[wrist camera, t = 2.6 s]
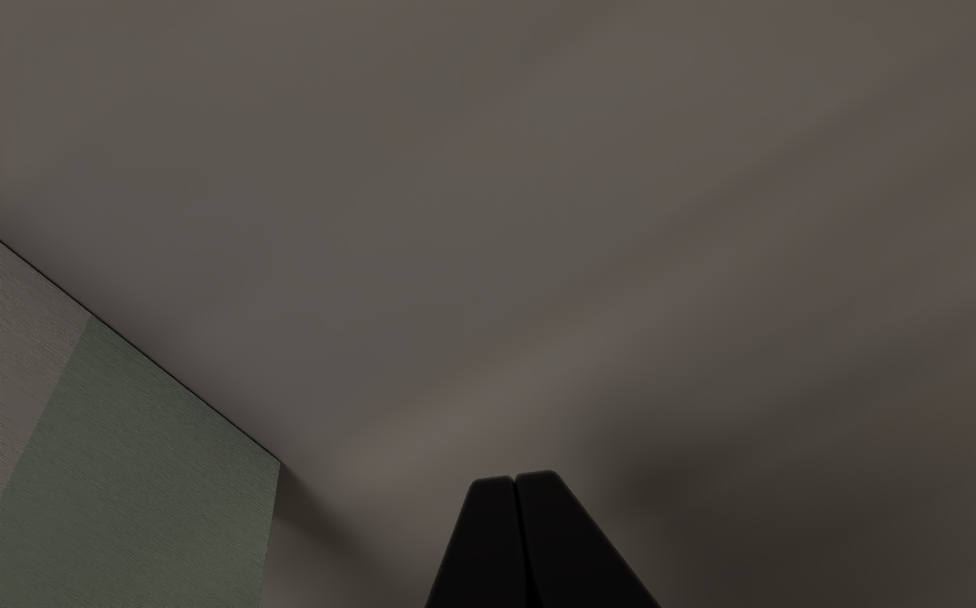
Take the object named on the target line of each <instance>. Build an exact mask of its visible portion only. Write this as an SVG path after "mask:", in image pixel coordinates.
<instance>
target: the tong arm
mask: <svg viewBox="0 0 976 608" xmlns="http://www.w3.org/2000/svg"><path fill="white" fill-rule="evenodd" d="M279 468H280V462H279V461H278V460H277V459H275V458H274V457H273V456H271V455H270V454H269V453H268V452H266V451H265V450H264V449H263V448H261V447H260V446H259V445H257V444H256V443H255V442H254V441H252V440H251V439H250V438H249V437H247V436H246V435H245V434H243V433H242V432H241V431H240V430H238V429H237V428H236V427H235V426H233V425H232V424H231V423H229V422H228V421H227V420H226V419H224V418H223V417H222V416H221V415H219V414H218V413H217V412H215V411H214V410H213V409H212V408H210V407H209V406H208V405H207V404H205V403H204V402H203V401H201V400H200V399H199V398H198V397H196V396H195V395H194V394H193V393H191V392H190V391H189V390H187V389H186V388H185V387H184V386H182V385H181V384H180V383H179V382H177V381H176V380H175V379H173V378H172V377H171V376H170V375H168V374H167V373H166V372H165V371H163V370H162V369H161V368H159V367H158V366H157V365H156V364H154V363H153V362H152V361H151V360H149V359H148V358H147V357H145V356H144V355H143V354H142V353H140V352H139V351H138V350H137V349H135V348H134V347H133V346H131V345H130V344H129V343H128V342H126V341H125V340H124V339H123V338H121V337H120V336H119V335H117V334H116V333H115V332H114V331H112V330H111V329H110V328H109V327H107V326H106V325H105V324H103V323H102V322H101V321H100V320H98V319H97V318H96V317H95V316H93V315H92V314H91V313H89V312H88V311H87V310H86V309H84V308H83V307H82V306H81V305H79V304H78V303H77V302H75V301H74V300H73V299H72V298H70V297H69V296H68V295H67V294H65V293H64V292H63V291H61V290H60V289H59V288H58V287H56V286H55V285H54V284H53V283H51V282H50V281H49V280H47V279H46V278H45V277H44V276H42V275H41V274H40V273H39V272H37V271H36V270H35V269H33V268H32V267H31V266H30V265H28V264H27V263H26V262H25V261H23V260H22V259H21V258H19V257H18V256H17V255H16V254H14V253H13V252H12V251H11V250H9V249H8V248H7V247H5V246H4V245H3V244H2V243H0V608H258V607H259V600H260V594H261V587H262V580H263V574H264V567H265V561H266V554H267V547H268V541H269V534H270V528H271V521H272V515H273V508H274V501H275V495H276V488H277V482H278V475H279Z"/></svg>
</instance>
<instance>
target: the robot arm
mask: <svg viewBox="0 0 976 608" xmlns="http://www.w3.org/2000/svg"><path fill="white" fill-rule="evenodd" d="M514 484H515V485H514ZM425 608H661V607H660V605H659V604H658V603H657V601H656V600H655V599H654V598H653V596H652V595H651V594H650V592H649V591H648V590H647V588H646V587H645V586H644V585H643V583H642V582H641V581H640V579H639V578H638V577H637V576H636V574H635V573H634V572H633V570H632V569H631V568H630V567H629V565H628V564H627V563H626V561H625V560H624V559H623V557H622V556H621V555H620V554H619V552H618V551H617V550H616V548H615V547H614V546H613V545H612V543H611V542H610V541H609V539H608V538H607V537H606V536H605V534H604V533H603V532H602V530H601V529H600V528H599V526H598V525H597V524H596V523H595V521H594V520H593V519H592V517H591V516H590V515H589V514H588V512H587V511H586V510H585V508H584V507H583V506H582V504H581V503H580V502H579V501H578V499H577V498H576V497H575V495H574V494H573V493H572V492H571V490H570V489H569V488H568V486H567V485H566V484H565V483H564V481H563V480H562V479H561V477H560V476H559V475H558V474H557V473H556V472H554V471H552V470H545V471H537V472H529V473H521V474H519V475H517V476H516V478H515V481H513V479H512V478H511V477H510V476H498V477H490V478H482V479H477V480H475V481H473V482H472V484H471V485H470V487H469V490H468V492H467V495H466V498H465V500H464V503H463V506H462V508H461V511H460V514H459V517H458V519H457V522H456V525H455V527H454V530H453V533H452V535H451V538H450V541H449V543H448V546H447V549H446V551H445V554H444V557H443V559H442V562H441V565H440V567H439V570H438V573H437V575H436V578H435V581H434V584H433V586H432V589H431V592H430V594H429V597H428V600H427V602H426V605H425Z"/></svg>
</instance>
